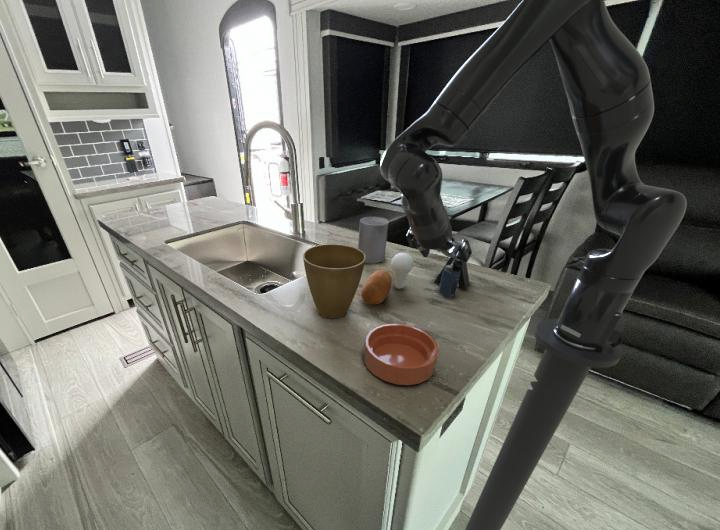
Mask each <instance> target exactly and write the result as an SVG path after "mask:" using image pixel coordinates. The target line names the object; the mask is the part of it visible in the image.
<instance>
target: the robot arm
mask: <svg viewBox="0 0 720 530" xmlns="http://www.w3.org/2000/svg"><path fill="white" fill-rule="evenodd" d="M549 42H550V45H551V48H552V51H553V54H554V57H555V60H556V63H557V67H558V68H557V69H558V72H559V75H560V78H561V82H562V85H563V88H564V92H565V96H566V98H567V101H568V106H569V110H570V111H569V112H570V116H571V118H572V119H571V120H572V122H573V126H574V129H575V133H576V135H577V138H578V140H579V144H580V147H581V151H582V154H583V159H584V163H585V167H586V170H587V173H588V178H589V183H590V191H591V200H592V206H593V214H594V218H595V221H596V222H597V224H598V226H599V227H601V228H602V229H603V230H605V231H607V232H609V233H612V234H614V235H617V236H620V237H619V239H618V241H617V242H616V244H615V245H614V247H613V248H597V249H592V250H591V251H589V252H588V253H587V255H586V257H585V258H584V261H583V264H582V266H581V268H580V270H579V273H578V275H577V277H576V279H575V281H574V284H573V286H572V288H571V290H570V293H569V295H568V297H567V299H566V301H565V304H564V306H563V309H562V311H561V313H560V315H559V317H558V318H557V319H558V322H557V323H556V326H555V327H554V329H553V334H554V336H555V337H556V338H557V339H558V340H560V341H561V342H563V343H565V344H566V345H569V346H571V347H573V348H576V349H580V350H585V351H595V352H598V353H601V352H602V350H603V348H604V347H605V345H606V343H607V341H609V342H612V344H610V345H611V346H612V347H613V348H614V347H616V346H618V345H620V346H621V345H622V343H623V342H624V341H625V335H624V332H623V330H624V324H625V321H622V320H621V318H622V315H623V311H624V309H625V308H626V306H627V304H628V302H629V300H630V299H631V298H632V296H633V293H634V291H635V289H636V288H637V286H638V284H639V282H640V281H641V279H642V277H643V275H644V274H645V272H646V271H647V270H648V269H649V268H650V267H651V266H652V265H653V264H654V263H655V262H656V261H657V260H658V258H659V257H660V256H661V253H662V252H663V250H664V249H665V247H666V245H667V244H668V242H669V241H670V240H671V239H672V237H673V235H674V233H675V232H676V231H677V229H678V228H679V226H680V224H681V222H682V220H683V218H684V216H685V214H686V211H687V206H688V203H687V198H686V196H685V195H684V194H683V193H681V192H680V191H677V190H673V189H670V188H665V187H660V186H655V185H650V184H645V183H644V182H643V181H642V180H641V178H640V176H639V173H638V170H637V169H638V168H637V163H636V152H637V149H638V148H639V146H640V144H641V142H642V140H643V139H644V137H645V135H646V133H647V131H648V130H649V127H650V125H651V123H652V120H653V118H654V113H655V98H654V92H653V86H652V80H651V75H650V71H649V67H648V65H647V63H646V61H645V59H644V58H643V57H642V55H641V53H640V52H639V51H638V49H637V48H636V47H635V45H634V44H633V43H632V42H631V41H630V40H629V39H628V38H627V37H626V35H625V34H624V33H623V32H622V31H621V30H620V29H619V27H618V26H617V25H616V24H615V22H614V20H613V19H612V17H611V15H610V13H609V11H608V8H607V4H606V1H605V0H521V2H520V3H518V4H517V6H516V8H515V9H514V10H513V11H512V13H510V15H509V16H508V17H507V18H506V19H505V20H504V21H503V23H502V24H501V25H500V26H499V27H498V28H497V29H496V30H495V31H494V32H493V33H492V34H491V35H490V36H489V37H488V38H487V39H486V40H485V41H484V42H483V43H482V44H481V45H480V46H479V47H478V48H477V49H476V50H475V52H473V53H472V55H471V56H470V57H469V58H468V59H467V60H466V61H465V62H464V63H463V64H462V65H461V66H460V68H459V69H458V70H457V71H456V73H455V74H454V75H453V76H452V78H451V79H450V80H449V81H448V83H446V85H445V87H444V88H443V89H442V91H441V92H440V93H439V95H438V96H437V97H436V99H435V100H434V102H433V103H432V104H431V106H429V108H428V110H427V111H426V112H425V113H423V114H422V115H421V116H420V117H419V118H418V119H416V120H415V121H414V122H413V123H412V124H410V126H409V127H407V128H406V129H405V130H404V131H403V132H401V134H399V135H398V136H397V137H396V138H395V139H393V141H392V142H391V143H390V144H389V146H388V147H387V148H386V150H385V151H384V153H383V155H382V158H381V160H380V166H379V171H380V174H381V176H382V178H383V179H384V180H385V181H386V182H387V183H388V184H390V185H391V186H392V187H394V189H395V190H397V191H398V193H400V194H401V207H402V209H403V212H404V214H405V217H406V218H407V220H408V221H407V222H408V226H409V229H408V231H407V233H406V235H405V239H406V241H407V243H408V245H409V247H410V248H412V249H415V248H416V250H417V251H419V252H420V254H421V255H422V256H423V258H428V256H429V254H430V252H431V250H433V251H437V252H439V253H442V254H443V255H444V256H445V257H447V258H450V257H452V258H453V259H455V263H456V266H458V267H460V266H461V265H463V263H464V262H466V263H468V262H469V260H470V257H471V256H472V254H473V250H472V248H471V244H470V241H469V240H468V239H467V238H463V239H462V241H459V240H456V239H455V238H454V236H453V229H452V224H451V222H450V218H449V214H448V210H447V208H446V206H445V205H444V202H443V199H442V195H441V192H442V184H443V178H444V177H443V171H442V168H441V165H440V164H439V163H438V161H437V160H436V159H435V158H434V157H433V156H432V155H430V154H429V153H427V151H429V150H431V148H432V147H435V146H436V145H441V146H444V147H445V146H446V147H454V146H457V145H458V144H459V143H461V141H462V140H464V138H465V137H466V135H468V133H469V132H470V131H471V130H472V129H473V127H474V126H475V125H476V123H478V121H479V120H480V119H481V117H482V116H483V115H484V114H485V113H486V111H487V110H488V109H489V108H490V107H491V106H492V104H493V103H494V101H495V100H497V98H498V97H499V96H500V95H501V94H502V92H503V91H504V90H505V89H506V87H508V86H509V84H510V83H511V82H512V80H513V79H514V78H515V77H517V75H518V74H519V73H520V72H521V71H522V70H523V68H525V66H526V65H527V64H528V63H529V62H530V61H531V60H532V59H533V58H534V57H535V56H536V55H537V53H539V51H540V50H541V49H542V48H543V47H544V46H545V45H547V43H549ZM456 251H457V252H458V253H457V255H455V252H456Z"/></svg>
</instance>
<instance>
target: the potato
mask: <svg viewBox="0 0 720 530" xmlns="http://www.w3.org/2000/svg"><path fill="white" fill-rule="evenodd" d="M392 281H393V279H392V275H391V274H390V272H388V271H386V270H382V269H377V270H374V271H373V272H372V273H371V274H370V275H369V277H368V278H367V279H366V281H365V282H364V283H363V285H362V288H361V293H360V295H361V299H362V301H363V302H364V303H365V304H368V305H373V306H375V305H380V304H381V303H382V302H384V301H385V300H386V298H387V296H388V295H389V294H390V292H391V290H392Z"/></svg>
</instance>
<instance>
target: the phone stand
mask: <svg viewBox="0 0 720 530" xmlns="http://www.w3.org/2000/svg"><path fill="white" fill-rule="evenodd" d="M457 253H458V252H457V251H456V252H455V255H457ZM453 261H454V259H453V258H452V257H449V259H448V260H447V262H446V263H445V265H444V266H443V268H442V269H441V271H440V272H439V274H438V275H437V277H436V278H435V280H434V284H437V285H440V282H441V278H442V273H443V270H444V269H445V267H446V265H451V266H452V265H453ZM467 265H468V264H467V262H464V263H463V265H462V267H461V272H460V277H459V281H458V285H457V289H459V290H463V291H465V290H466V289H467V286H468V284H469V282H470V277H469V271H468V266H467Z"/></svg>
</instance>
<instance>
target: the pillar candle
mask: <svg viewBox="0 0 720 530" xmlns="http://www.w3.org/2000/svg"><path fill="white" fill-rule="evenodd" d="M388 228H389V220H388V219H387V218H385V217H380V216H364V217H362V218H360V219H359V228H358V240H357V241H358V242H357V249H359V250H361V251H362V252H363V253H364V254H365V256H366V259H365V264H372V265H373V264H374V265H375V264H378V263H383V262H384V261H385V258H386V251H387V241H388V231H389V229H388Z"/></svg>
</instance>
